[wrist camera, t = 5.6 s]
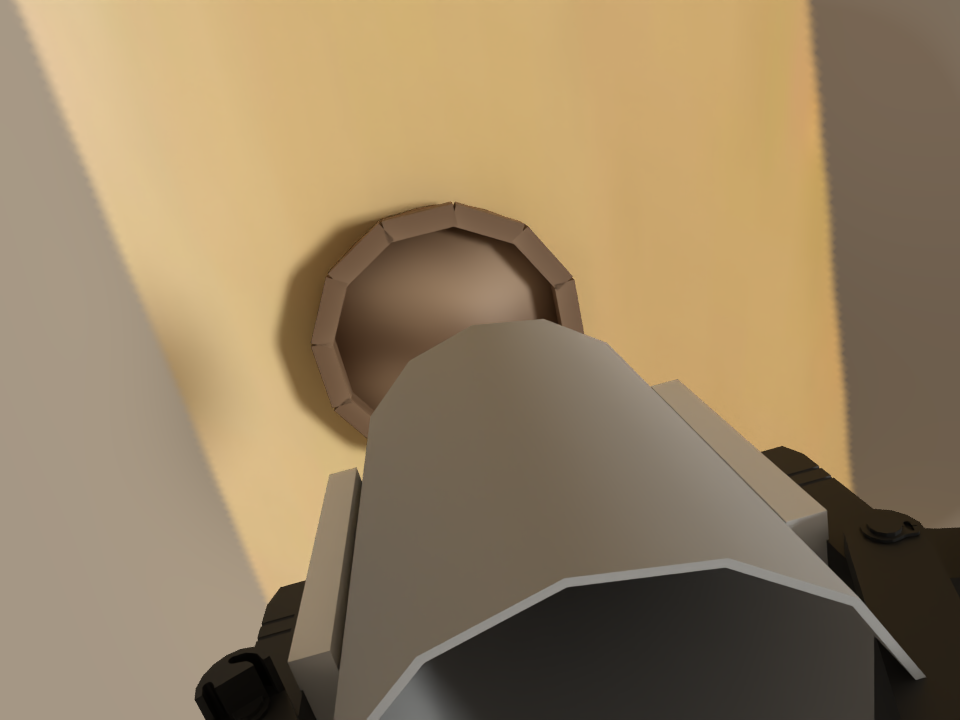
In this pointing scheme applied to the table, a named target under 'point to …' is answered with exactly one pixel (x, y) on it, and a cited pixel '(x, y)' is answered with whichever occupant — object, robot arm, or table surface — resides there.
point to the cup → (579, 556)
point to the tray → (428, 296)
